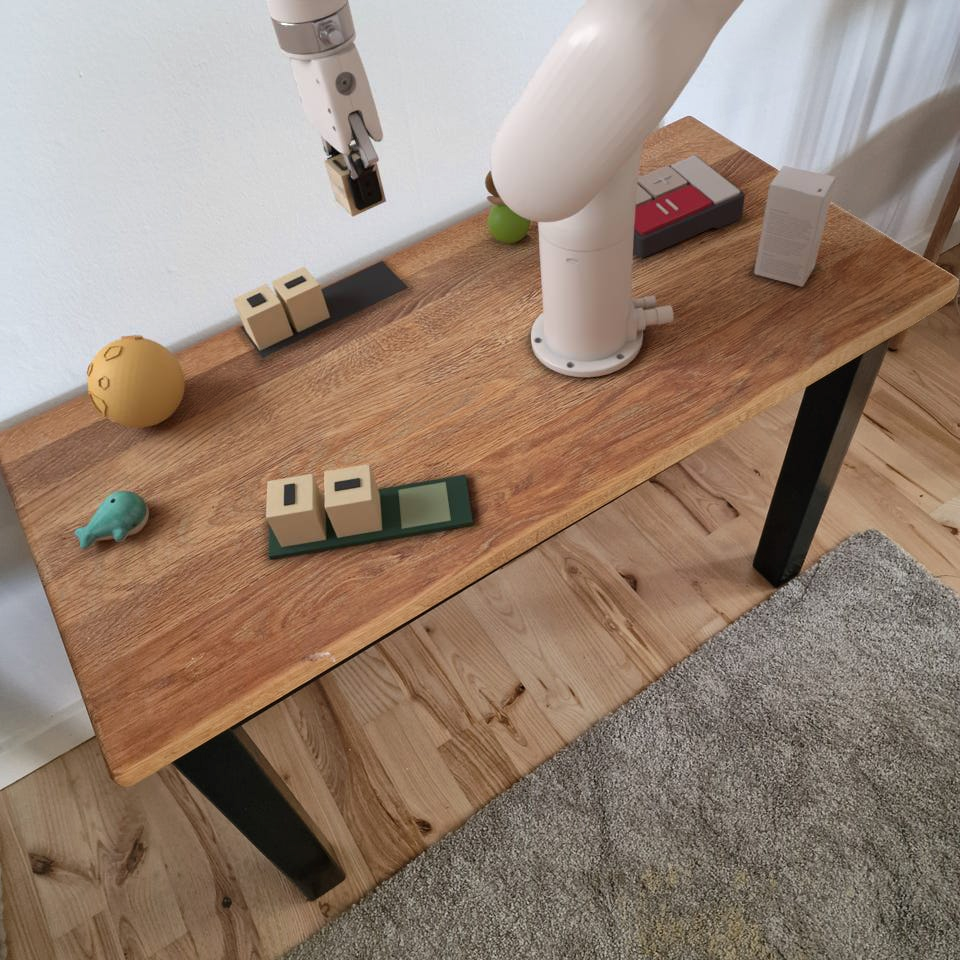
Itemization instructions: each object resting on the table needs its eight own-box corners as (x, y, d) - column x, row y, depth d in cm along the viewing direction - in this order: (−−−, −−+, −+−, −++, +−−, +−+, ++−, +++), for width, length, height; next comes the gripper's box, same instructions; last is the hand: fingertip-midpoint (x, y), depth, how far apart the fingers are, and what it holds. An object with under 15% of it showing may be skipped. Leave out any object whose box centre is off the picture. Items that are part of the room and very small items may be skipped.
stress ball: (201, 376, 97) (167, 310, 90) (194, 437, 91) (157, 372, 83) (117, 390, 97) (76, 325, 89) (105, 452, 91) (60, 389, 83)
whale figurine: (160, 530, 84) (144, 508, 81) (91, 567, 82) (72, 545, 79) (142, 493, 87) (126, 471, 84) (75, 528, 85) (56, 506, 82)
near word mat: (466, 477, 84) (459, 440, 79) (473, 525, 80) (466, 489, 75) (271, 510, 84) (253, 475, 79) (270, 560, 80) (250, 525, 75)
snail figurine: (539, 249, 105) (535, 164, 96) (489, 253, 106) (480, 168, 97) (538, 224, 109) (533, 139, 99) (490, 228, 109) (480, 144, 100)
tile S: (368, 185, 96) (358, 143, 92) (386, 201, 94) (376, 159, 90) (335, 200, 95) (323, 159, 91) (352, 217, 92) (340, 175, 88)
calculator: (595, 191, 106) (695, 148, 108) (596, 219, 109) (694, 177, 111) (641, 234, 99) (747, 188, 101) (641, 263, 103) (743, 218, 105)
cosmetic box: (815, 267, 98) (838, 176, 88) (802, 288, 96) (825, 197, 86) (765, 254, 100) (782, 164, 91) (751, 274, 98) (768, 184, 89)
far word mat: (382, 264, 107) (373, 226, 102) (409, 291, 103) (400, 252, 98) (241, 330, 102) (225, 293, 97) (263, 361, 98) (247, 324, 93)
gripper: (388, 40, 76) (424, 213, 90) (312, -10, 85) (355, 153, 100) (316, 69, 74) (363, 242, 88) (247, 14, 84) (299, 178, 98)
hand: (358, 193), depth 94 cm, fingers closed on tile S, 4 cm apart
